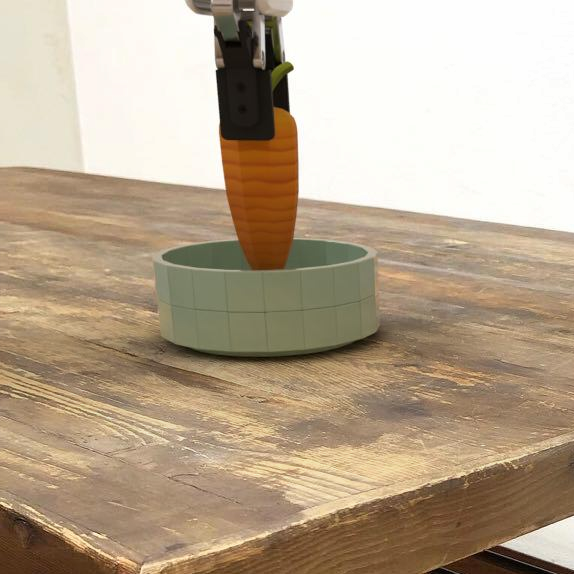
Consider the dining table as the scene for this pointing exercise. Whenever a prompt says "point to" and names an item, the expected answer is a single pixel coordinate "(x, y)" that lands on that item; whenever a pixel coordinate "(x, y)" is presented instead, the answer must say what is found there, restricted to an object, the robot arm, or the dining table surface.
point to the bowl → (267, 298)
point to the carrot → (264, 188)
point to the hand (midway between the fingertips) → (257, 133)
